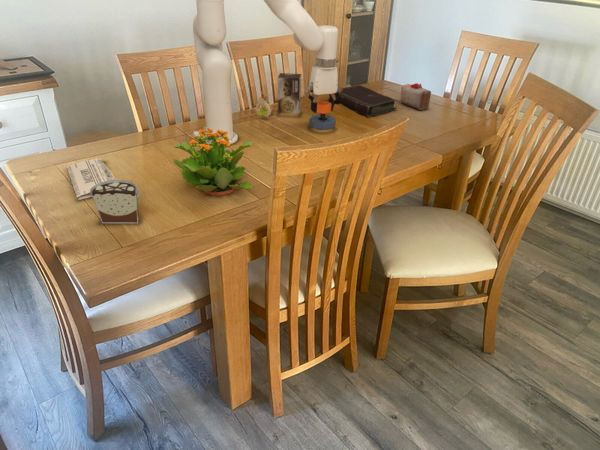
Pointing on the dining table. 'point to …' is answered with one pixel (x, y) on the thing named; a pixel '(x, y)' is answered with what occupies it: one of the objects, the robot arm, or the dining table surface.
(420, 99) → the food item
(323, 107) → the orange ring
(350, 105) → the diary
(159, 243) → the dining table surface
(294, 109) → the coffee box
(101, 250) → the dining table surface
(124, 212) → the cake slice
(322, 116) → the ring post
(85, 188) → the newspaper
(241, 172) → the potted flower
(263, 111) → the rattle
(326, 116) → the blue ring
